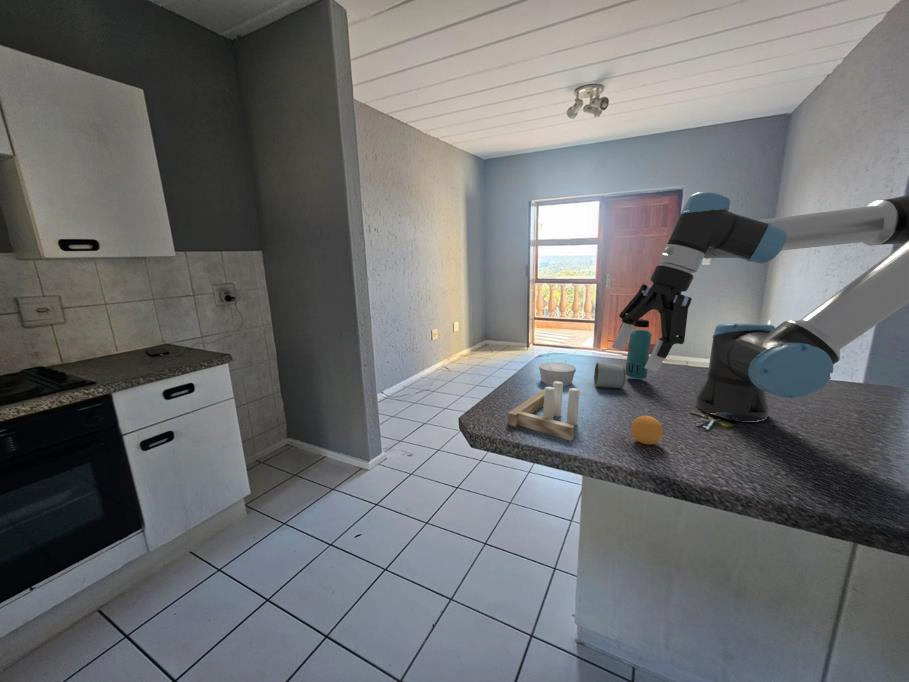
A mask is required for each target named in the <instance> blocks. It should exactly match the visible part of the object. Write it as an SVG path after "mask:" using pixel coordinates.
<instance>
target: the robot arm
mask: <svg viewBox="0 0 909 682" xmlns="http://www.w3.org/2000/svg"><path fill="white" fill-rule="evenodd" d="M730 206H731V200H730V198H729V197H726V196H724V195H723V194H720V193H716V192H711V191H710V192H709V191H698V192H695V193H693V194H691V195H690V196H689V198H688V199H687V200H686V203H685V204H684V206H683V209H682V210H681V212H680V213H679V216H678V218H677V221H676V223H675V226H674V227H673V230H672V231H671V232H672V233H671V234H670V237H669V238H668V241H667V243H666V245H665V248H664V250H663V252H662V254H661V257H660V258H659V260H658V261H659V263H660V264H658V265H656V266H655V268H654V271H653V272H652V275H651V276H650V282H652V283H653V284H652V285H651V286H650V285H648V284H644V283H643V284H641V286H640V288H639V290H638V291H637V293H636V294H635V296H633V298H632V299H630V301H629V303H628V304H627V305H626V306H625V307H624V309H623V310H622V311H621V312H620V313H619V315H618V316H619V317H618V318H620V319H621V321H622V323H621V325H620V328H619V330H618V332H617V335H616V337H615V340H614V341H613V344H612V345H611V348H612V349H616V350H619V351H624V349H625V347H626V345H627V343H628V342H629V340H630V335H631V332H632V331H633V330H634V328H635V326H634V325H635V322H636V321H637V320H638V319H641V318H642V317H644V316H645V315H646V314H647V313H649V312H650V311H652V310H656V311H658V313H659V315H660V327H661V328H660V329H661V330H660V331H661V337H660V338H658V339H657V342H656V343H655V345H654V348H653V349H652V352H650V354H649V359H648V361H647V363H646V365H645V367H644V368H646V369H648V370H650V371H652V372H656V373H657V372H658V371H659V370H660V368H661V366H662V363H663V361H664V360H665V359H666V358H667V357H668V356H669V354H670V351H671V350H672V348H673V346H674V345H683V344H684V343H685V340H686V331H687V322H688V314H689V307H690V306H691V303H692V297H691V296H687V295H684V294H682V292H687V291H688V289H689V287H690V286H691V283H692V281H693V280H694V275H693V274H694V273H698V270H699V268H700V266H701V265H702V262H703V259H716V258H717V259H720V258H722V259H741V260H745V261H747V262H749V263H751V262H753V263H755V264H759V265H760V264H761V265H762V264H767V263H769V262H771V261H773V259H775V258H776V257H777V256H778V255H779V254H780V253H781V251H790V250H799V249H809V248H810V249H811V248H818V247H819V248H820V247H828V246H836V245H837V246H838V245H846V244H858V243H862V244H864V245H866V246H881V245H883V246H885V245H900V246H898V247H897V248H896V249H895V250H893V251H891V252H890V253H889V254H888V255H887V256H885V257H884V258H882V259H881V260H880V261H879V262H877V263H876V264H874V265H873V266H872V267H870V268H868V269H867V270H866V271H864V272H863V273H861V275H859V276H858V277H857V278H855V279H854V280H852V281H851V282H850V283H848V284H847V285H845V287H842V288H841V289H840V290H838V291H837V292H836V293H835V294H833V295H832V296H830V297H829V298H828V299H826V300H825V301H824V302H823V303H821V304H820V305H818V306H817V307H815V308H814V309H813V310H811V311H810V312H809V313H807V314H806V315H805V316H803V317H802V318H800V319H798V320H784V321H783V322H782V323H780V324H778V325H777V326H776V327H775V326H774V325H773V324H763V323H762V324H761V323H741V322H740V323H739V322H738V323H737V322H735V323H734V322H723V323H718V324H717V325H716V326H715V328H714V332H713V335H712V344H711V351H710V357H709V358H710V359H709V365H708V371H707V378H706V380H705V381H704V383H703V385H702V386H701V388H700V390H699V391H698V393H697V395H696V398H695V403H694V404H695V407H696V408H697V409H698V410H700V411H701V410H702V411H701V412H703V411H704V412H703V413H705V412H708V413H716V412H727V413H732V414H735V415H737V420H739V421H757V420H762V419H765V418H767V417H769V413H770V407H769V403H768V398H767V395H766V393H767V394H772V395H774V396H776V397H781V398H786V399H796V398H797V399H798V398H803V397H804V398H805V397H808V396H810V395H812V394H816V393H817V392H819V391H820V390H822V389H824V387H825V386H826V385H828V383H829V382H830V381H831V379H832V378H831V374H833V373H834V365H835V364H836V363H838V362H839V361H840V360H841V350H842V349H843V348H844V347H846V346H847V345H849V344H850V343H852V342H853V341H855V340H857V339H858V338H859V337H861V336H862V335H864V334H865V333H867V332H868V331H870V329H872V328H873V327H875V326H876V325H878V324H880V323H881V322H882V321H884V320H885V319H887V318H888V317H890V316H891V315H893V314H894V313H896V312H898V311H899V310H900V309H901V308H904V307H905V306H906V305H907V304H909V194H906V195H902V196H897V197H894V198H893V197H891V198H887V199H880V200H875V201H872V202H870V203H868V204H866V206H862V207H861V206H860V207H854V208H846V209H844V208H843V209H838V210H837V209H836V210H828V211H820V212H813V213H805V214H796V215H789V216H780V217H772V218H765V219H753V218H751V217H747V216H744V215H740V214H736V213H734V212H731V211H729V210H730ZM708 413H707V414H708Z"/></svg>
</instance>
